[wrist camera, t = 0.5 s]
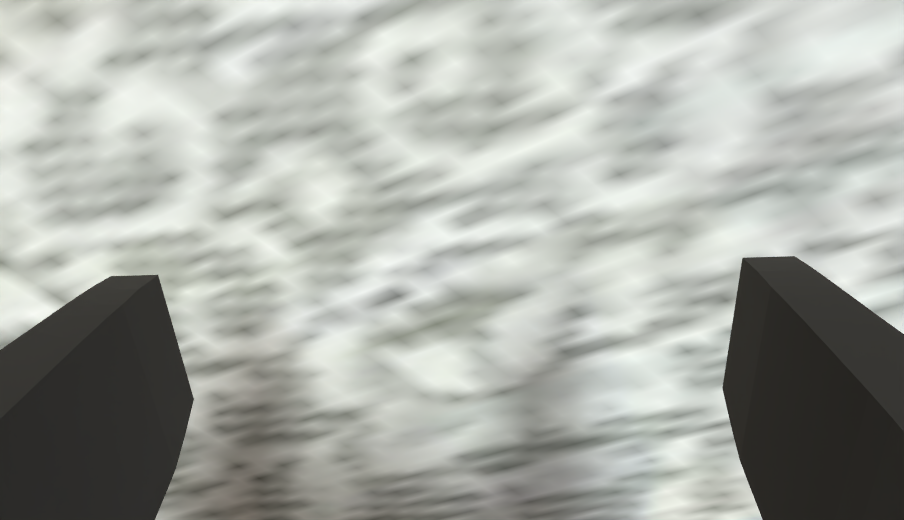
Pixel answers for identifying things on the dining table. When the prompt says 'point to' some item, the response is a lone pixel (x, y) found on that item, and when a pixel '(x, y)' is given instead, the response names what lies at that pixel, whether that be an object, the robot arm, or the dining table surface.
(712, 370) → the dining table surface
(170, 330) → the robot arm
